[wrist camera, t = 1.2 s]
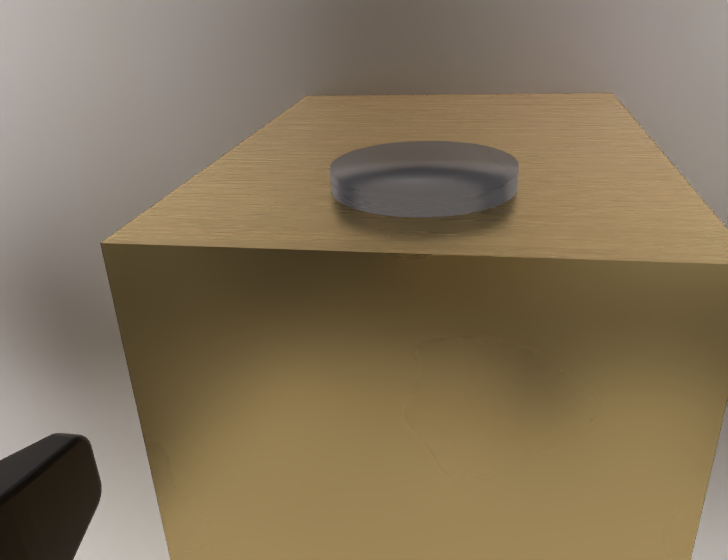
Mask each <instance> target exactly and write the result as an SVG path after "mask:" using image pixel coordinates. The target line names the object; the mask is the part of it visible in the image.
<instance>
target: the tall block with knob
mask: <svg viewBox="0 0 728 560" xmlns="http://www.w3.org/2000/svg"><path fill="white" fill-rule="evenodd" d="M100 244H101V248H102V253H103V257H104V262H105V266H106V271H107V275H108V280H109V284H110V289H111V293H112V298H113V302H114V307H115V311H116V316H117V320H118V325H119V329H120V334H121V338H122V343H123V347H124V352H125V356H126V361H127V365H128V370H129V374H130V379H131V383H132V388H133V392H134V397H135V402H136V406H137V411H138V415H139V420H140V424H141V429H142V433H143V438H144V442H145V447H146V451H147V456H148V460H149V465H150V469H151V474H152V478H153V483H154V487H155V492H156V496H157V501H158V505H159V510H160V514H161V519H162V523H163V528H164V532H165V537H166V541H167V546H168V550H169V555H170V559H171V560H691V556H692V552H693V548H694V543H695V539H696V535H697V530H698V526H699V521H700V517H701V513H702V508H703V504H704V500H705V495H706V491H707V487H708V482H709V478H710V474H711V469H712V465H713V461H714V456H715V452H716V447H717V443H718V439H719V434H720V430H721V426H722V421H723V417H724V413H725V408H726V404H727V400H728V229H727V228H726V226H725V225H724V224H723V223H722V222H721V220H720V219H719V218H718V217H717V216H716V215H715V213H714V212H713V211H712V210H711V209H710V208H709V206H708V205H707V204H706V203H705V202H704V200H703V199H702V198H701V197H700V196H699V195H698V193H697V192H696V191H695V190H694V189H693V187H692V186H691V185H690V184H689V183H688V182H687V180H686V179H685V178H684V177H683V176H682V175H681V173H680V172H679V171H678V170H677V169H676V167H675V166H674V165H673V164H672V163H671V162H670V160H669V159H668V158H667V157H666V156H665V154H664V153H663V152H662V151H661V150H660V149H659V147H658V146H657V145H656V144H655V143H654V142H653V140H652V139H651V138H650V137H649V136H648V134H647V133H646V132H645V131H644V130H643V129H642V127H641V126H640V125H639V124H638V123H637V121H636V120H635V119H634V118H633V117H632V116H631V114H630V113H629V112H628V111H627V110H626V109H625V107H624V106H623V105H622V104H621V103H620V101H619V100H618V99H617V98H616V97H615V96H614V94H613V93H580V94H457V95H333V96H306V97H304V98H303V99H301V100H300V101H299V102H297V103H296V104H294V105H293V106H292V107H290V108H289V109H287V110H286V111H285V112H283V113H282V114H280V115H279V116H278V117H276V118H275V119H273V120H272V121H271V122H269V123H268V124H266V125H265V126H263V127H262V128H261V129H259V130H258V131H256V132H255V133H254V134H252V135H251V136H249V137H248V138H247V139H245V140H244V141H242V142H241V143H240V144H238V145H237V146H235V147H234V148H233V149H231V150H230V151H228V152H227V153H226V154H224V155H223V156H221V157H220V158H219V159H217V160H216V161H214V162H213V163H212V164H210V165H209V166H207V167H206V168H205V169H203V170H202V171H200V172H199V173H198V174H196V175H195V176H193V177H192V178H191V179H189V180H188V181H186V182H185V183H184V184H182V185H181V186H179V187H178V188H177V189H175V190H174V191H172V192H171V193H170V194H168V195H167V196H165V197H164V198H163V199H161V200H160V201H158V202H157V203H156V204H154V205H153V206H151V207H150V208H149V209H147V210H146V211H144V212H143V213H142V214H140V215H139V216H137V217H136V218H135V219H133V220H132V221H130V222H129V223H128V224H126V225H125V226H123V227H122V228H121V229H119V230H118V231H116V232H115V233H114V234H112V235H111V236H109V237H108V238H107V239H105V240H104V241H102V242H101V243H100Z"/></svg>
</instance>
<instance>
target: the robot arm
mask: <svg viewBox="0 0 728 560" xmlns="http://www.w3.org/2000/svg"><path fill="white" fill-rule="evenodd" d="M100 497H101V480H100V476H99V473H98V469H97V465H96V461H95V458H94V454H93V450H92V446H91V443H90V441H89V440H88V439H87V438H86V437H85V436H82V435H77V434H66V433H55V434H52V435H50V436H48V437H46V438H44V439H42V440H40V441H38V442H36V443H34V444H32V445H30V446H28V447H26V448H24V449H22V450H20V451H18V452H16V453H14V454H12V455H10V456H8V457H6V458H4V459H2V460H0V560H73V559H74V557H75V555H76V552H77V550H78V548H79V546H80V544H81V541H82V539H83V537H84V535H85V533H86V530H87V528H88V526H89V524H90V522H91V519H92V517H93V515H94V513H95V511H96V509H97V506H98V504H99V501H100Z"/></svg>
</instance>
